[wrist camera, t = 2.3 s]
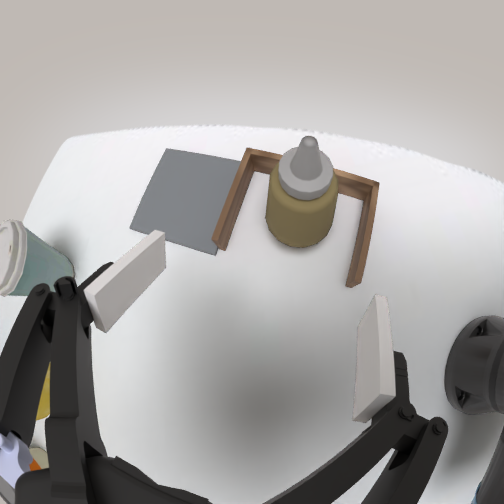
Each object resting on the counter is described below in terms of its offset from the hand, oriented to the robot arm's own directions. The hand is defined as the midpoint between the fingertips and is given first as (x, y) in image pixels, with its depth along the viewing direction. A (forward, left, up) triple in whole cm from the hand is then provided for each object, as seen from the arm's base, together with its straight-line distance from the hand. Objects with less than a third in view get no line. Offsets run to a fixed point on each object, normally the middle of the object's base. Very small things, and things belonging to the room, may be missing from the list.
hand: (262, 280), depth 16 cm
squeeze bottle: (0, -10, -18) cm, 21 cm away
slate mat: (+16, -10, -18) cm, 26 cm away
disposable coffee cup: (+34, +8, -18) cm, 39 cm away
